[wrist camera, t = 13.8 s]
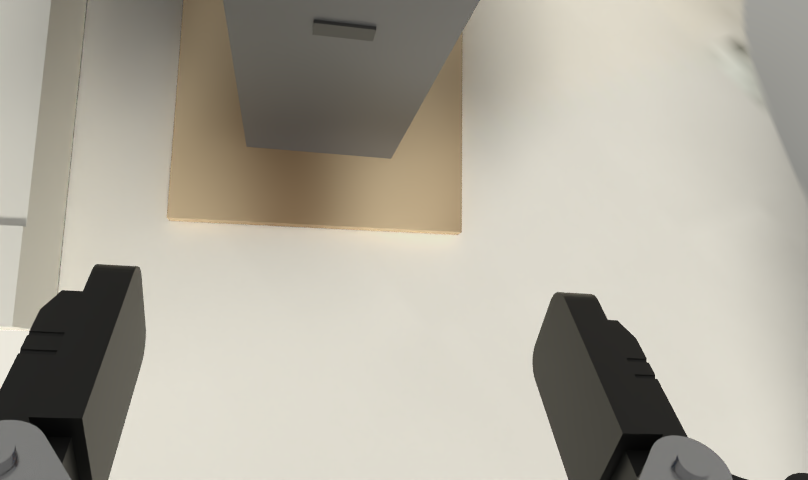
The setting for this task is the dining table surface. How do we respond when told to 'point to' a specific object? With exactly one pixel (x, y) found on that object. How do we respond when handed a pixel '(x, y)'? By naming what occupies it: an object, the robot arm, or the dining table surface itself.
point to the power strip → (35, 148)
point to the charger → (338, 69)
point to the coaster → (304, 154)
